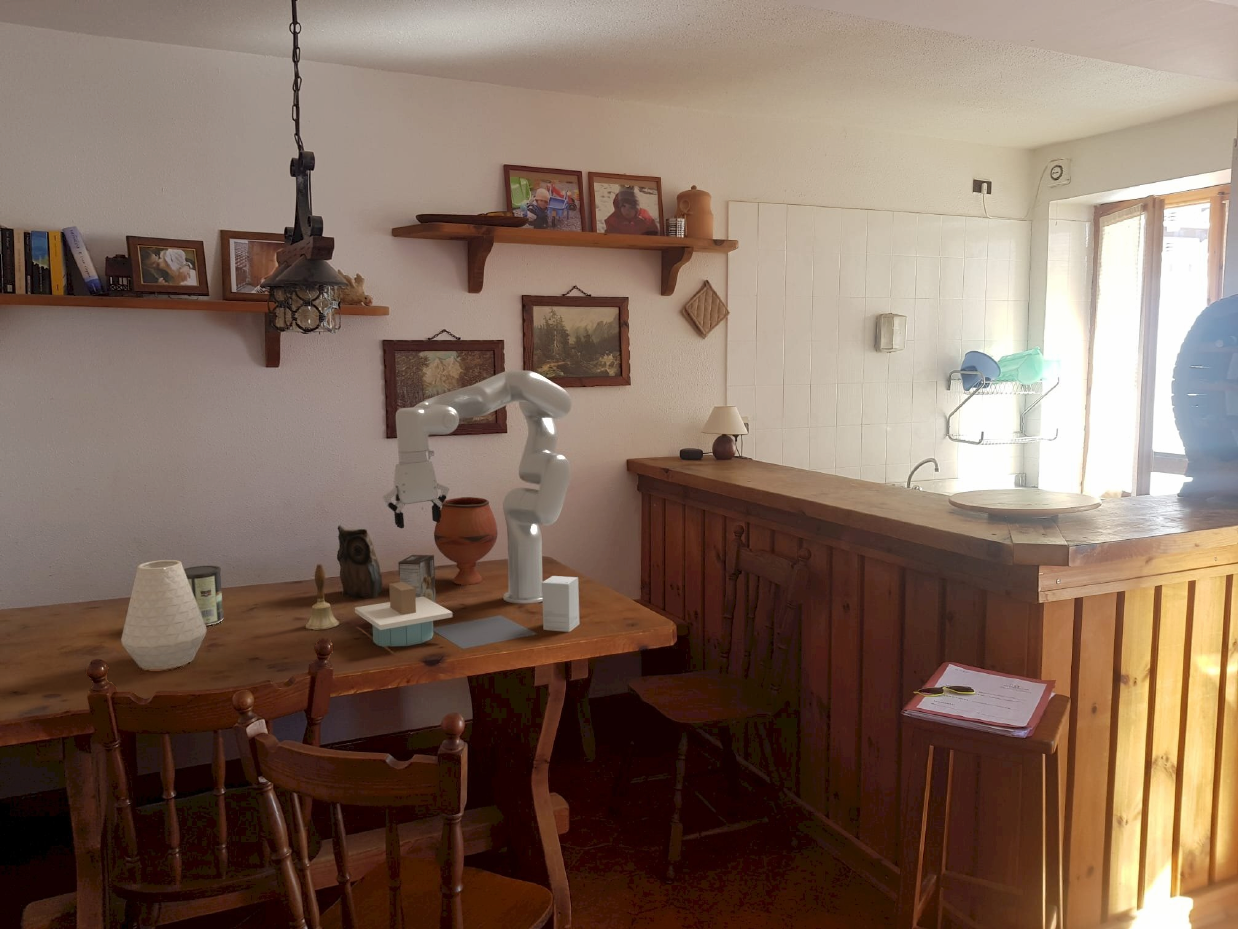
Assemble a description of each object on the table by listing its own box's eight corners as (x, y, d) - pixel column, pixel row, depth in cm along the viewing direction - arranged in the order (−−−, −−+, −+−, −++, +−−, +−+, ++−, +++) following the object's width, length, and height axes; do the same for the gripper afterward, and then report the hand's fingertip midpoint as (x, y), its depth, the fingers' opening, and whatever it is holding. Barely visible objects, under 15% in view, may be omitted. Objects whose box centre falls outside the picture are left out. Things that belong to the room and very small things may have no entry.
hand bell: (301, 624, 244) (297, 564, 242) (332, 619, 249) (329, 559, 247) (311, 632, 237) (308, 570, 235) (343, 626, 242) (341, 565, 240)
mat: (500, 616, 249) (500, 615, 249) (537, 635, 232) (537, 633, 232) (429, 629, 238) (429, 628, 238) (462, 650, 221) (462, 649, 221)
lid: (423, 601, 243) (422, 573, 242) (452, 617, 228) (451, 588, 227) (354, 612, 233) (353, 583, 232) (380, 630, 218) (379, 599, 217)
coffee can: (204, 615, 253) (201, 563, 251) (232, 619, 249) (229, 567, 247) (171, 625, 244) (168, 572, 242) (200, 630, 239) (197, 576, 238)
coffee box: (414, 612, 254) (412, 554, 252) (436, 613, 253) (434, 554, 251) (400, 622, 245) (397, 561, 243) (423, 623, 244) (420, 562, 242)
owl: (376, 599, 268) (373, 530, 265) (331, 600, 267) (328, 531, 264) (384, 587, 280) (382, 521, 278) (341, 589, 279) (338, 522, 277)
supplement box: (580, 625, 241) (579, 577, 239) (569, 633, 234) (568, 584, 232) (553, 622, 243) (552, 575, 242) (542, 631, 236) (541, 581, 235)
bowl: (419, 626, 241) (418, 604, 240) (441, 640, 229) (440, 616, 228) (366, 636, 233) (365, 612, 232) (386, 651, 221) (385, 626, 221)
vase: (216, 666, 212) (209, 566, 209) (130, 682, 202) (122, 577, 199) (199, 646, 226) (193, 552, 224) (118, 660, 216) (110, 562, 214)
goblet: (442, 592, 275) (439, 507, 271) (430, 577, 292) (427, 498, 289) (506, 585, 281) (504, 503, 278) (490, 571, 299) (488, 494, 296)
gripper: (439, 452, 243) (443, 517, 245) (375, 459, 233) (380, 527, 236) (452, 455, 237) (456, 521, 239) (386, 462, 227) (391, 532, 229)
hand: (418, 524), depth 237 cm, fingers open, 9 cm apart
